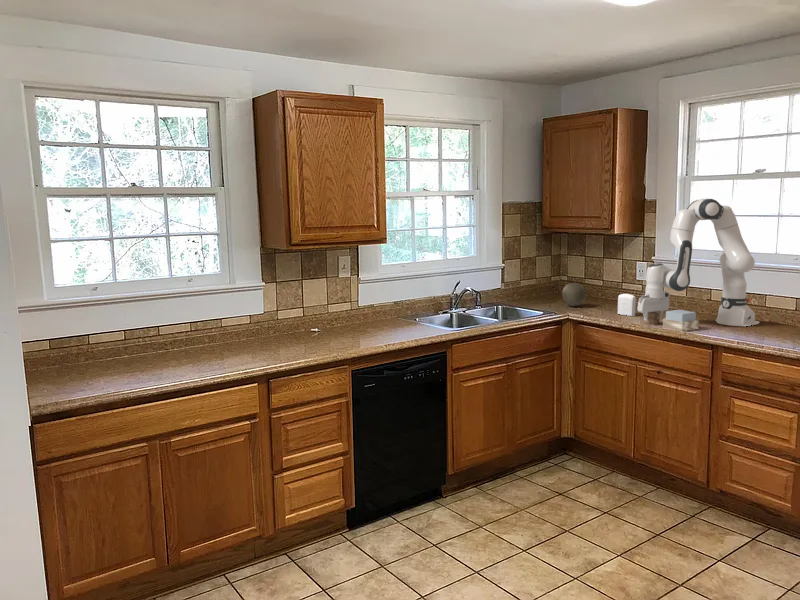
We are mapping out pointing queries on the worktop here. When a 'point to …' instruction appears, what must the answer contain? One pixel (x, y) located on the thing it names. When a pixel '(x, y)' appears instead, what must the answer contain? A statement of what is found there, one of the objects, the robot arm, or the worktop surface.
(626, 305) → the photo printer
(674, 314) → the slate top block
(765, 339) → the worktop surface
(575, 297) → the grey ball
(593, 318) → the worktop surface
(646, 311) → the robot arm
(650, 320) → the walnut block
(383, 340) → the worktop surface
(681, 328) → the ash base slab
